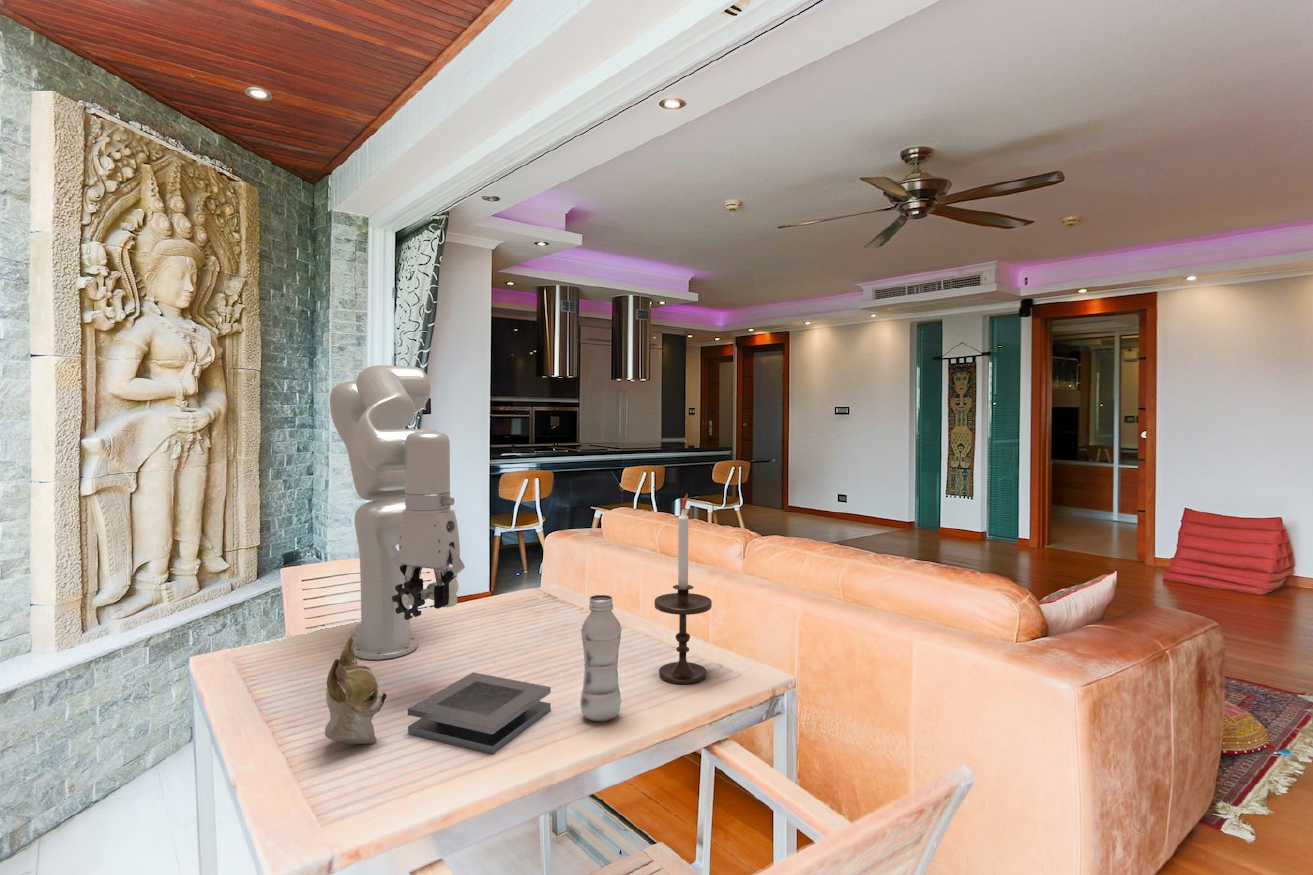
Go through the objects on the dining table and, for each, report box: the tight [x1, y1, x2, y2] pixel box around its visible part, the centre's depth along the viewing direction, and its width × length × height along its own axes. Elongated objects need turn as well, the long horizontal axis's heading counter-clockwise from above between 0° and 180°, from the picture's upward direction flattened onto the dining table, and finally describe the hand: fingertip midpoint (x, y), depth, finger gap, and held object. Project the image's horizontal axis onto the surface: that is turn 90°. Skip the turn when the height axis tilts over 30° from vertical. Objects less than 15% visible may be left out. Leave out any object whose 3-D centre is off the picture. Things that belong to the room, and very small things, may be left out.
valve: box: [392, 566, 459, 620], centre depth 122 cm, size 7×7×12 cm
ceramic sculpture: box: [324, 636, 387, 745], centre depth 104 cm, size 11×9×15 cm
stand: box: [407, 671, 552, 755], centre depth 112 cm, size 16×16×4 cm
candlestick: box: [653, 493, 713, 686], centre depth 130 cm, size 11×11×35 cm
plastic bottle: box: [579, 594, 622, 722], centre depth 113 cm, size 6×7×20 cm
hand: (428, 603), depth 122 cm, fingers closed on valve, 4 cm apart
